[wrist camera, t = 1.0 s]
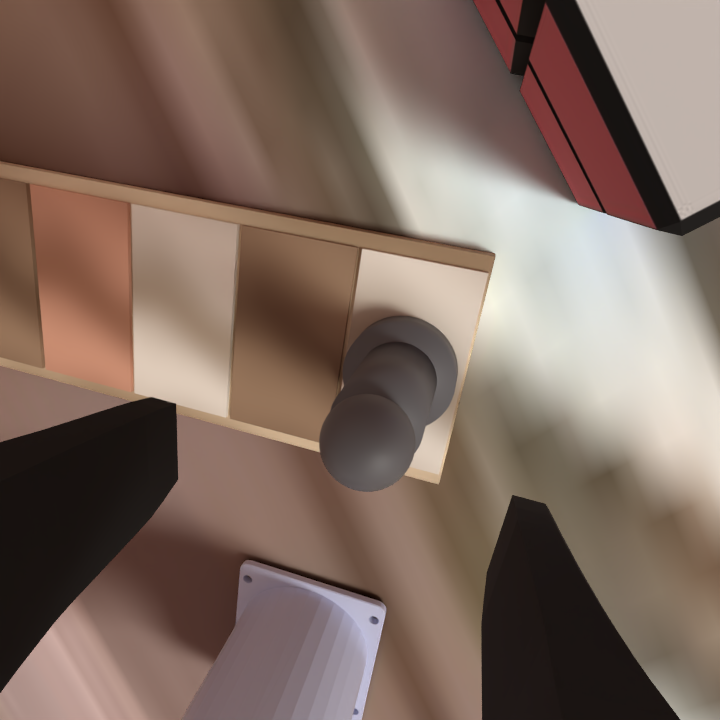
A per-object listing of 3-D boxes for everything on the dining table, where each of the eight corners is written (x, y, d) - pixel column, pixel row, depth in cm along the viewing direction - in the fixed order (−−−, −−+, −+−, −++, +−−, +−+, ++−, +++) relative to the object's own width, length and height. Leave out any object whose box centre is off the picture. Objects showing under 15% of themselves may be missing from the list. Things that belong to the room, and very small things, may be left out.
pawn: (445, 428, 21) (420, 555, 14) (343, 403, 22) (271, 510, 15) (469, 328, 19) (455, 414, 12) (358, 305, 20) (285, 372, 13)
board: (440, 474, 23) (438, 486, 22) (-20, 351, 27) (-38, 357, 26) (495, 253, 19) (495, 257, 18) (-47, 152, 23) (-69, 151, 23)
